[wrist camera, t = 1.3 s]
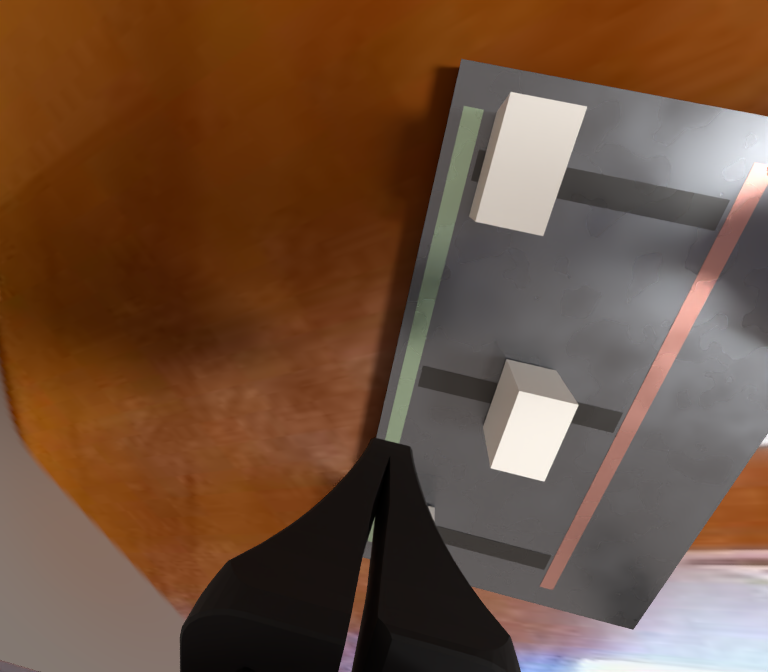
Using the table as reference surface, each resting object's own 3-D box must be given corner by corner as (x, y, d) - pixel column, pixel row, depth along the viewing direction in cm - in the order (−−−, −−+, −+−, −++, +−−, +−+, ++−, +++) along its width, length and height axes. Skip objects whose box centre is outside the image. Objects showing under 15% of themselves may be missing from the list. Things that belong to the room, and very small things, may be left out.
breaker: (558, 123, 15) (587, 106, 12) (524, 228, 16) (543, 235, 13) (496, 111, 15) (510, 91, 12) (468, 216, 16) (475, 221, 14)
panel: (926, 155, 15) (960, 152, 14) (626, 613, 24) (633, 629, 24) (460, 66, 16) (461, 58, 15) (353, 540, 26) (350, 554, 25)
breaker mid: (556, 370, 18) (578, 405, 15) (528, 438, 20) (544, 481, 17) (506, 359, 18) (519, 390, 16) (483, 427, 20) (490, 468, 17)
